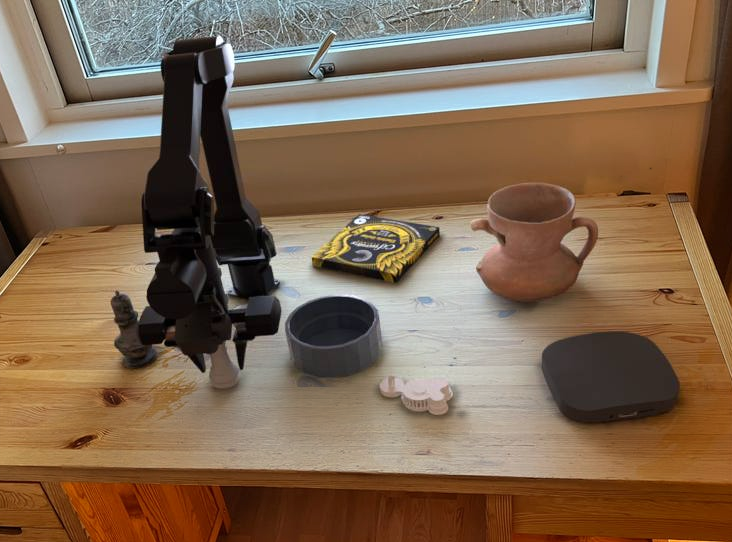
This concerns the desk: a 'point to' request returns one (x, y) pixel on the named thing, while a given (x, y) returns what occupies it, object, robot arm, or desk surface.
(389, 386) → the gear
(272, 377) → the desk surface
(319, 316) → the basin
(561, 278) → the ceramic jug
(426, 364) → the desk surface
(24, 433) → the desk surface
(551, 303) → the desk surface
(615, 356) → the media streaming box
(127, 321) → the bishop chess piece
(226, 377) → the rook chess piece
